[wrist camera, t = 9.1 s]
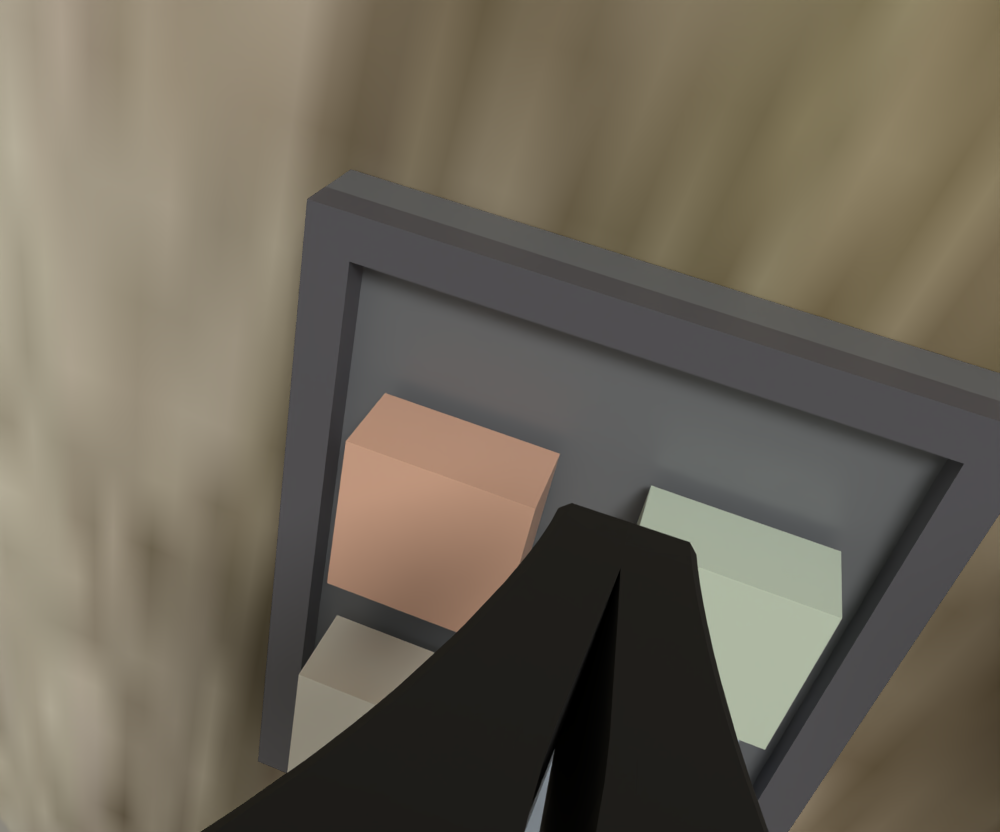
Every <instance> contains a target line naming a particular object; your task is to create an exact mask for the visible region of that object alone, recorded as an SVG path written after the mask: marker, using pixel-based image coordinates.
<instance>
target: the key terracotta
mask: <svg viewBox="0 0 1000 832" xmlns="http://www.w3.org/2000/svg"><path fill="white" fill-rule="evenodd" d="M559 456H560V454H559V453H556V452H553V451H551V450H548V449H545V448H542V447H539V446H536V445H533V444H530V443H528V442H525V441H522V440H519V439H516V438H513V437H510V436H507V435H505V434H502V433H499V432H496V431H493V430H490V429H487V428H484V427H482V426H479V425H476V424H473V423H470V422H467V421H464V420H461V419H459V418H456V417H453V416H450V415H447V414H444V413H441V412H438V411H436V410H433V409H430V408H427V407H424V406H421V405H418V404H415V403H413V402H410V401H407V400H404V399H401V398H398V397H395V396H392V395H390V394H387V393H385V394H384V395H383V396H382V397H381V399H380V400H379V401H378V402H377V404H376V405H375V406H374V407H373V408H372V410H371V411H370V412H369V413H368V415H367V416H366V417H365V418H364V419H363V421H362V422H361V423H360V424H359V426H358V427H357V428H356V429H355V430H354V432H353V433H352V434H351V435H350V437H349V438H348V439H347V440H346V444H345V451H344V459H343V466H342V474H341V481H340V489H339V496H338V504H337V511H336V519H335V527H334V534H333V542H332V549H331V557H330V564H329V572H328V579H327V583H328V584H331V585H334V586H336V587H339V588H342V589H344V590H347V591H349V592H352V593H355V594H357V595H360V596H363V597H365V598H368V599H370V600H373V601H376V602H378V603H381V604H384V605H386V606H389V607H391V608H394V609H397V610H399V611H402V612H405V613H407V614H410V615H412V616H415V617H418V618H420V619H423V620H426V621H428V622H431V623H433V624H436V625H439V626H441V627H444V628H447V629H449V630H452V631H454V632H457V631H458V630H459V629H460V628H461V627H462V626H463V625H464V624H465V623H466V622H467V621H468V620H469V619H470V618H471V617H472V616H473V615H474V614H475V613H476V612H477V611H478V610H479V609H480V607H481V606H482V605H483V604H484V603H485V602H486V601H487V600H488V599H489V598H490V597H491V596H492V595H493V594H494V593H495V592H496V590H497V589H498V588H499V587H500V586H501V585H502V584H503V583H504V582H505V581H506V580H507V579H508V577H509V576H510V575H511V574H512V573H513V571H514V570H515V569H516V568H517V567H518V565H519V564H520V563H521V562H522V561H523V559H524V558H525V557H526V556H527V554H528V553H529V552H530V551H531V549H532V546H533V543H534V539H535V536H536V533H537V529H538V526H539V523H540V519H541V516H542V513H543V509H544V506H545V503H546V499H547V496H548V492H549V489H550V486H551V482H552V479H553V476H554V472H555V469H556V466H557V462H558V459H559Z"/></svg>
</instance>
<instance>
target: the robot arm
mask: <svg viewBox="0 0 1000 832" xmlns="http://www.w3.org/2000/svg"><path fill="white" fill-rule="evenodd" d="M554 749H555V750H554ZM553 752H554V755H553V760H552V766H551V771H550V776H549V782H548V787H547V793H546V798H545V803H544V809H543V814H542V820H541V825H540V831H539V832H769V831H768V828H767V826H766V823H765V820H764V817H763V814H762V811H761V808H760V806H759V803H758V800H757V797H756V794H755V791H754V788H753V785H752V783H751V780H750V777H749V774H748V771H747V768H746V764H745V761H744V758H743V755H742V752H741V749H740V745H739V742H738V739H737V736H736V732H735V729H734V725H733V722H732V718H731V714H730V711H729V707H728V704H727V700H726V697H725V693H724V690H723V686H722V683H721V679H720V675H719V671H718V667H717V663H716V659H715V655H714V651H713V646H712V642H711V637H710V633H709V628H708V624H707V619H706V614H705V609H704V603H703V598H702V592H701V586H700V579H699V572H698V564H697V554H696V552H695V551H694V549H693V547H692V545H691V543H690V542H688V541H685V540H682V539H679V538H676V537H673V536H670V535H667V534H664V533H661V532H658V531H655V530H652V529H649V528H646V527H643V526H640V525H637V524H634V523H631V522H628V521H625V520H622V519H619V518H616V517H613V516H610V515H607V514H604V513H601V512H598V511H595V510H592V509H589V508H586V507H583V506H580V505H577V504H574V503H570V504H567V505H565V506H562V507H559V508H558V509H557V511H556V513H555V515H554V517H553V519H552V521H551V522H550V524H549V525H548V527H547V528H546V530H545V531H544V533H543V534H542V536H541V537H540V539H539V540H538V541H537V543H536V544H535V545H534V547H533V548H532V549H531V551H530V552H529V553H528V554H527V556H526V557H525V558H524V559H523V561H522V562H521V563H520V564H519V565H518V567H517V568H516V569H515V570H514V571H513V573H512V574H511V575H510V576H509V577H508V579H507V580H506V581H505V582H504V583H503V584H502V585H501V586H500V587H499V588H498V589H497V590H496V592H495V593H494V594H493V595H492V596H491V597H490V598H489V599H488V600H487V601H486V602H485V603H484V604H483V605H482V606H481V607H480V609H479V610H478V611H477V612H476V613H475V614H474V615H473V616H472V617H471V618H470V619H469V620H468V621H467V622H466V623H465V624H464V625H463V626H462V627H461V628H460V629H459V630H458V631H457V632H456V633H455V634H454V635H453V636H452V637H451V638H450V639H449V640H448V641H447V642H446V643H445V644H444V645H442V646H441V647H440V648H439V649H438V650H437V651H436V652H435V653H434V654H433V655H432V656H430V657H429V658H428V659H427V660H426V661H425V662H424V663H423V664H422V665H421V666H420V667H419V668H417V669H416V670H415V671H414V672H413V673H412V674H411V675H410V676H409V677H408V678H407V679H405V680H404V681H403V682H402V683H401V684H400V685H399V686H398V687H396V688H395V689H394V690H393V691H392V692H391V693H389V694H388V695H387V696H386V697H385V698H383V699H382V700H381V701H380V702H379V703H378V704H376V705H375V706H374V707H373V708H372V709H370V710H369V711H368V712H367V713H365V714H364V715H363V716H362V717H360V718H359V719H358V720H357V721H356V722H354V723H353V724H352V725H351V726H349V727H348V728H347V729H345V730H344V731H343V732H341V733H340V734H339V735H338V736H336V737H335V738H334V739H332V740H331V741H330V742H328V743H327V744H326V745H325V746H323V747H322V748H321V749H319V750H318V751H317V752H315V753H314V754H313V755H311V756H310V757H309V758H307V759H306V760H305V761H303V762H302V763H300V764H299V765H297V766H296V767H295V768H293V769H292V770H290V771H289V772H288V773H286V774H285V775H283V776H282V777H280V778H279V779H278V780H276V781H275V782H273V783H272V784H271V785H269V786H268V787H266V788H265V789H263V790H262V791H261V792H259V793H258V794H256V795H255V796H254V797H252V798H251V799H249V800H248V801H246V802H245V803H244V804H242V805H241V806H239V807H238V808H236V809H235V810H233V811H232V812H230V813H229V814H227V815H226V816H224V817H223V818H221V819H219V820H218V821H216V822H215V823H213V824H212V825H210V826H209V827H207V828H206V829H204V830H203V831H201V832H524V830H525V827H526V823H527V819H528V816H529V813H530V810H531V808H532V805H533V803H534V800H535V798H536V795H537V792H538V790H539V787H540V785H541V782H542V780H543V777H544V775H545V772H546V770H547V767H548V765H549V762H550V759H551V757H552V754H553Z"/></svg>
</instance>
